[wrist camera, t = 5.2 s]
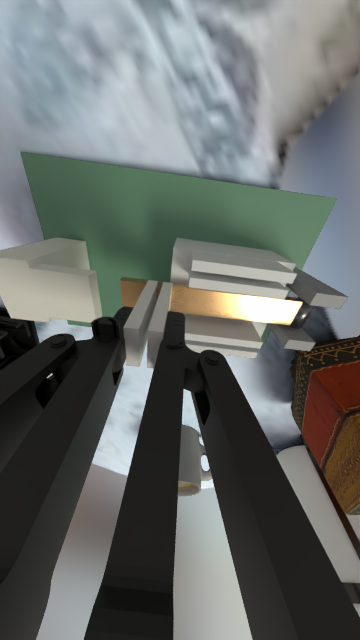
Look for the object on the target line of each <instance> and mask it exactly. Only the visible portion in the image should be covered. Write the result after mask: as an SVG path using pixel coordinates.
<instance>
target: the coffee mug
mask: <svg viewBox="0 0 360 640" xmlns="http://www.w3.org/2000/svg"><path fill="white" fill-rule="evenodd" d="M202 455H206V451H205V447H204V446H203V445H201V444H200V442H199V434H198V432H197V431H196V430H195V429H193V428H191V427H189V426H185V425H182V426H181V444H180V463H179V481H178V496H191V495H195V494H197V493H199V492H200V491H201V481H208V480H211V479H212V475H211V471H210V468H209V470H208V471H204V470H203V469H202V466H201V456H202ZM206 456H207V455H206Z"/></svg>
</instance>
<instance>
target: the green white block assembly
mask: <svg viewBox="0 0 360 640" xmlns="http://www.w3.org/2000/svg"><path fill="white" fill-rule="evenodd" d="M20 153H21V156H22V160H23V164H24V167H25V171H26V174H27V178H28V181H29V185H30V189H31V192H32V196H33V199H34V203H35V206H36V210H37V214H38V217H39V221H40V224H41V228H42V231H43V235H44V239H45V240H47V239H52V238H56V237H58V238H66V239H73V240H80V241H86V246H87V253H88V259H89V265H90V270H95V271H96V275H97V282H98V289H99V296H100V303H101V310H102V317H114V316H115V314H116V313H117V311H118V310H119V309H120V308H122V307H124V306H122V303H121V289H120V279H121V278H122V277H128V278H137V279H145V280H153V281H161V282H169V283H177V284H186V285H189V287H192V288H199V289H207V290H215V291H223V292H230V293H238V294H246V295H254V296H261V297H269V298H277V299H285V297H288V295H289V293H290V291H291V290H292V291H293V292H294V293H295V294H296V295H298V296H299V297H300V298H301V299H303V300H304V301H305V302H306V303H308V304H309V305H313V306H321V307H328V308H336V309H340V308H341V307H342V306H343V304H344V303H345V301H346V300H347V299H348V297H347V296H345V295H344V294H342V293H340V292H338V291H337V290H335V289H333V288H331V287H330V286H328V285H326V284H324V283H322V282H321V281H319V280H317V279H315V278H314V277H312V276H310V275H308V274H307V273H305V272H303V271H301V270H302V268H303V266H304V264H305V262H306V260H307V258H308V256H309V254H310V252H311V250H312V248H313V246H314V244H315V242H316V239H317V238H318V236H319V234H320V232H321V230H322V228H323V226H324V224H325V222H326V220H327V218H328V216H329V214H330V212H331V210H332V208H333V206H334V204H335V202H336V200H337V199H336V198H330V197H323V196H316V195H310V194H303V193H296V192H289V191H283V190H276V189H269V188H262V187H256V186H249V185H242V184H236V183H229V182H222V181H215V180H209V179H202V178H195V177H188V176H182V175H175V174H168V173H162V172H155V171H148V170H141V169H135V168H128V167H121V166H115V165H108V164H101V163H94V162H88V161H81V160H74V159H67V158H61V157H54V156H47V155H41V154H34V153H27V152H20ZM183 314H184V316H185V344H186V346H187V347H188V348H189V349H191V350H193V351H196V352H202V351H204V350H208V349H209V350H215V351H217V352H219V353H221V354H222V355H230V356H239V357H247V358H256V356H257V354H258V352H257V350H256V348H259V349H260V348H261V347H263V345H264V343H265V341H266V339H267V337H268V335H269V333H270V331H271V330H272V331H273V333H274V334H275V336H276V337H277V339H278V340H279V342H280V343H281V345H282V346H283V348H286V349H294V350H303V351H310V350H311V349H312V348H313V346H314V345H315V341H314V340H313V339H312V338H311V337H310V336H309V335H308V334H307V333H306V332H305V331H304V330H303V329H302V328H300V329H295V328H292V327H290V326H288V325H283V324H274V323H265V322H256V321H248V320H239V319H230V318H221V317H213V316H204V315H195V314H187V313H183ZM67 321H68V324H70V325H79V326H87V327H92V326H91V323H89V322H80V321H72V320H67Z"/></svg>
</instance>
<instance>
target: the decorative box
mask: <svg viewBox="0 0 360 640" xmlns="http://www.w3.org/2000/svg"><path fill="white" fill-rule="evenodd" d="M291 364H292V367H291V368H290V369H289V370H290V371H291V372H292V377H293V378H294V389H293V391H294V393H293V398H292V404H291V410H292V415H293V418H294V420H295V422H296V424H297V426H298V428H299V429H300V431H301V433H302V435H303V437H304V439H305V441H306V443H307V445H308V447H309V448H310V450H311V452H312V454H313V456H314V457H315V459H316V461H317V463H318V465H319V467H320V469H321V470H322V472H323V474H324V476H325V478H326V480H327V482H328V484H329V486H330V488H331V490H332V492H333V494H334V495H335V497H336V499H337V501H338V503H339V504H340V506H341V508H342V510H343V511H344V512H345V513H346V514H348V515H360V335H359V336H358V337H353V338H347V339H339V340H335V341H331V342H329V343H325V342H316V343H315V345H314V346H313V348H312V349H311V350H310V351H303V350H298V351H297V353H296V357H295V358H294V359H293V360H292V362H291Z"/></svg>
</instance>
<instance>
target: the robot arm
mask: <svg viewBox="0 0 360 640" xmlns="http://www.w3.org/2000/svg"><path fill="white" fill-rule="evenodd" d="M172 285H173V283H168V282H163V285H162V288H161V291H160V294H159V297H158V300H157V287H158V281H152V280H148V282H147V284H146V286H145V287H144V289H143V291H142V293H141V295H140V297H139V299H138V301H137V303H136V304H135V306H134V307H127V306H124V307H122V308H120V309H119V310H118V311H117V313H116V314H115V316H114V317H100V318H97V319H95V320H93V321H92V322H91V326H92V331H93V337H92V339H88V340H80V341H75V338H74V337H73V336H72V335H70V334H57V335H54V336H51V337H49V338H47V339H46V340H44V341H43V342H41V343H40V344H38V345H37V346H35V347H34V348H33V349H31V350H30V351H28V352H27V353H25V354H24V355H22V356H21V357H19V358H18V359H16V360H15V361H13V362H12V363H11V364H9V365H8V366H6V367H5V368H3V369H2V370H0V640H36V637H37V634H38V631H39V629H40V625H41V622H42V619H43V616H44V613H45V610H46V607H47V602H48V598H49V594H50V586H51V579H52V575H53V571H54V568H55V565H56V562H57V559H58V556H59V553H60V551H61V548H62V545H63V542H64V539H65V536H66V534H67V531H68V528H69V525H70V522H71V519H72V517H73V514H74V511H75V508H76V505H77V502H78V500H79V497H80V494H81V491H82V488H83V485H84V483H85V480H86V477H87V474H88V471H89V468H90V466H91V463H92V460H93V457H94V454H95V451H96V449H97V446H98V443H99V440H100V437H101V434H102V432H103V429H104V426H105V423H106V420H107V417H108V415H109V412H110V409H111V406H112V403H113V400H114V398H115V395H116V392H117V389H118V386H119V383H120V381H121V378H122V375H123V370H124V369H123V365H124V362H125V360H126V365H128V366H137V367H139V366H140V363H141V359H142V356H143V353H144V349H145V346H146V343H147V339H148V345H147V368H154V371H153V375H152V379H151V383H150V387H149V391H148V396H147V400H146V404H145V408H144V412H143V416H142V420H141V424H140V429H139V433H138V437H137V441H136V445H135V449H134V453H133V457H132V462H131V466H130V470H129V474H128V478H127V482H126V486H125V490H124V495H123V499H122V503H121V507H120V512H119V515H118V519H117V524H116V528H115V532H114V536H113V541H112V544H111V548H110V553H109V557H108V561H107V565H106V569H105V572H104V577H103V580H102V583H101V586H100V589H99V592H98V595H97V598H96V600H95V603H94V606H93V609H92V613H91V616H90V620H89V623H88V626H87V630H86V633H85V637H84V640H173V575H174V555H175V535H176V518H177V500H178V481H179V463H180V444H181V426H182V407H183V389H186V390H188V391H191V395H192V399H193V403H194V407H195V411H196V415H197V419H198V423H199V427H200V431H201V435H202V439H203V443H204V447H205V451H206V455H207V459H208V463H209V467H210V471H211V475H212V479H213V483H214V487H215V491H216V494H217V499H218V503H219V507H220V511H221V515H222V519H223V522H224V527H225V531H226V535H227V539H228V543H229V547H230V551H231V555H232V558H233V563H234V567H235V571H236V575H237V579H238V583H239V587H240V591H241V595H242V599H243V603H244V607H245V611H246V614H247V619H248V623H249V627H250V631H251V635H252V639H253V640H360V617H359V615H358V613H357V611H356V609H355V607H354V605H353V603H352V601H351V599H350V597H349V596H348V594H347V592H346V590H345V588H344V586H343V584H342V582H341V580H340V578H339V576H338V574H337V572H336V570H335V569H334V567H333V565H332V563H331V561H330V559H329V557H328V555H327V553H326V551H325V549H324V547H323V545H322V544H321V542H320V540H319V538H318V536H317V534H316V532H315V530H314V528H313V526H312V524H311V522H310V520H309V519H308V517H307V515H306V513H305V511H304V509H303V507H302V505H301V503H300V501H299V499H298V497H297V495H296V493H295V492H294V490H293V488H292V486H291V484H290V482H289V480H288V478H287V476H286V474H285V472H284V470H283V468H282V467H281V465H280V463H279V461H278V459H277V457H276V455H275V453H274V451H273V449H272V447H271V445H270V443H269V442H268V440H267V438H266V436H265V434H264V432H263V430H262V428H261V426H260V424H259V422H258V420H257V418H256V417H255V415H254V413H253V411H252V409H251V407H250V405H249V403H248V401H247V399H246V397H245V395H244V393H243V391H242V390H241V388H240V386H239V384H238V382H237V380H236V378H235V376H234V374H233V372H232V370H231V368H230V366H229V365H228V363H227V361H226V359H225V357H224V356H223V355H222V354H221V353H219V352H217V351H215V350H209V349H208V350H204V351H202V352H201V353H197V352H195V351H193V350H191V349H189V348H188V347H187V346H186V344H185V316H184V314H183V313H180V312H172V311H170V305H171V295H172ZM51 373H52V374H53V375H52V376H50V377H49V378H46V377H48V376H49V375H50V374H51Z"/></svg>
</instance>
